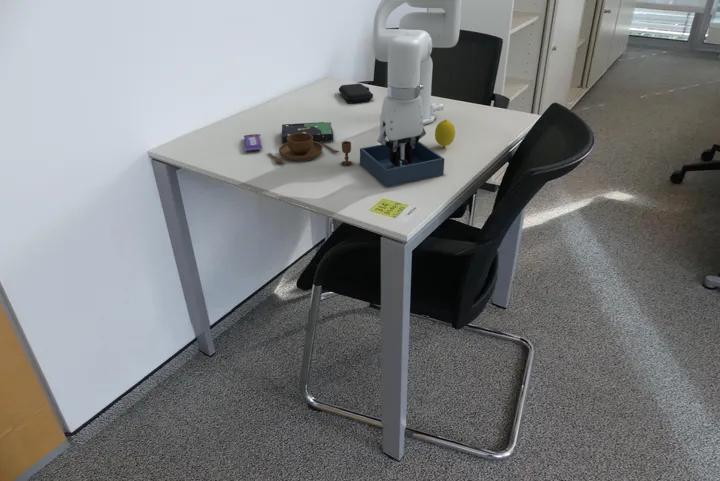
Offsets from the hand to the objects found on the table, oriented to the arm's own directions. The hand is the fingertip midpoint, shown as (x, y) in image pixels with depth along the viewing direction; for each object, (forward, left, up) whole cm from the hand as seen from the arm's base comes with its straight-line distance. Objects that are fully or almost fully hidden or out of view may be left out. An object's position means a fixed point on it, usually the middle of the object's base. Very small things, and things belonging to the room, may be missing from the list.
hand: (401, 162), depth 138 cm
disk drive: (+14, -32, -2) cm, 35 cm away
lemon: (-18, -8, -2) cm, 20 cm away
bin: (0, 0, -2) cm, 2 cm away
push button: (0, 0, -2) cm, 2 cm away
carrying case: (-15, -61, -2) cm, 63 cm away
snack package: (+30, -33, -2) cm, 45 cm away
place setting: (+19, -17, -2) cm, 26 cm away
